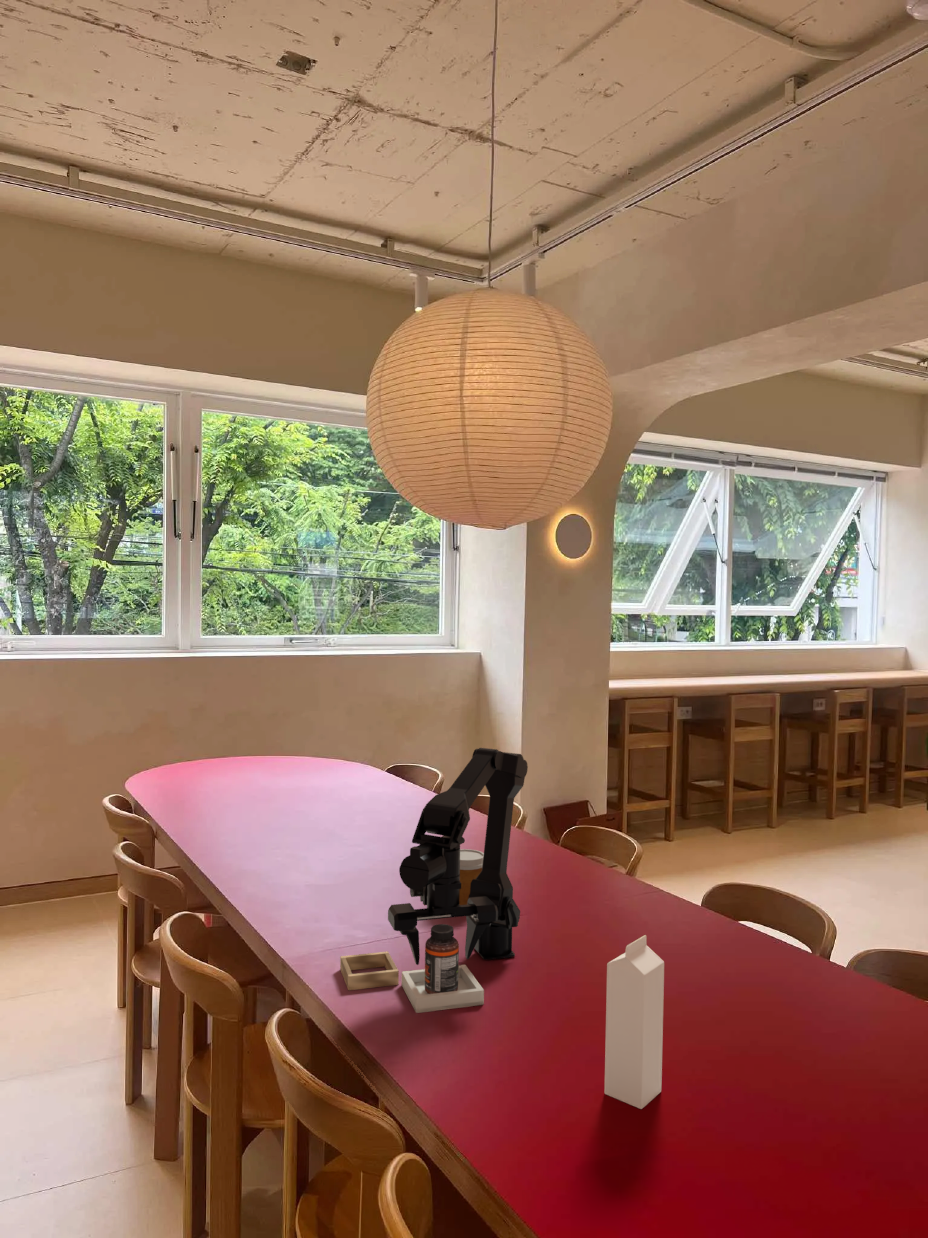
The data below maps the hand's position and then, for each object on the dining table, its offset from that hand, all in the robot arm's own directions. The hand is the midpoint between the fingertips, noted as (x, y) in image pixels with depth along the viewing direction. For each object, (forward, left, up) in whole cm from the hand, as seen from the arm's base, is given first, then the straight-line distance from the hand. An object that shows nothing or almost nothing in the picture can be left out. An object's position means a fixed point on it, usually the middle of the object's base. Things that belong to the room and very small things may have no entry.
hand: (442, 961), depth 157 cm
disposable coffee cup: (-17, -41, -6) cm, 45 cm away
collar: (+11, -10, -6) cm, 16 cm away
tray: (0, 0, -6) cm, 6 cm away
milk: (-18, +37, -6) cm, 42 cm away
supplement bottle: (0, 0, -6) cm, 6 cm away
